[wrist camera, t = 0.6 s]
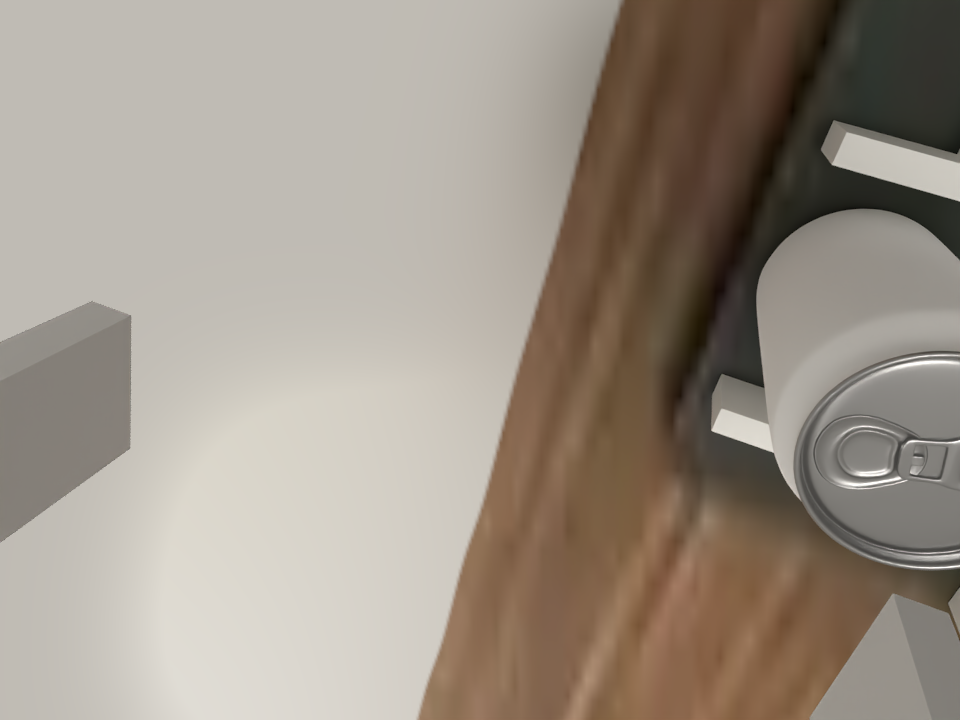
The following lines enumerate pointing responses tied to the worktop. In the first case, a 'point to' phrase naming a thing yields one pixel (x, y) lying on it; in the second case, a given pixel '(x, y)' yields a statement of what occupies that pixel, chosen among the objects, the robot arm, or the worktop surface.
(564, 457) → the worktop surface
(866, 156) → the trap tray
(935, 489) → the can
